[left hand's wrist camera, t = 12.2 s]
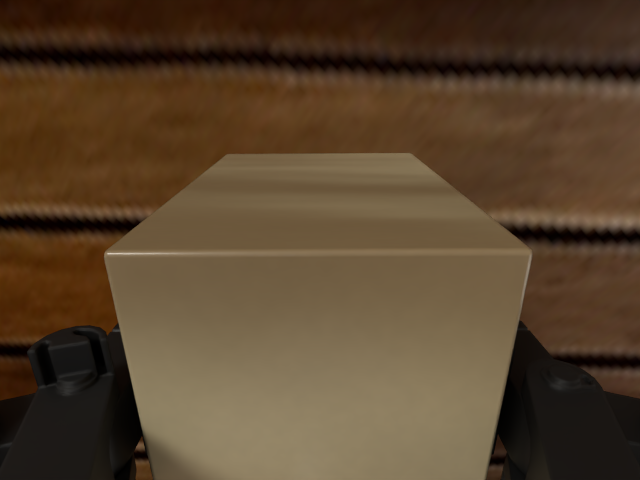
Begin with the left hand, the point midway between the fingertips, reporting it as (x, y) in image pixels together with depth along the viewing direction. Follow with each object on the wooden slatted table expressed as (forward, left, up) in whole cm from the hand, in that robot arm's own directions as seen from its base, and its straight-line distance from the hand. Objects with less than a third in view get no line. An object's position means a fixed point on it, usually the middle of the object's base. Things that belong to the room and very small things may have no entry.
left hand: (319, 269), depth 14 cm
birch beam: (0, +13, 0) cm, 13 cm away
